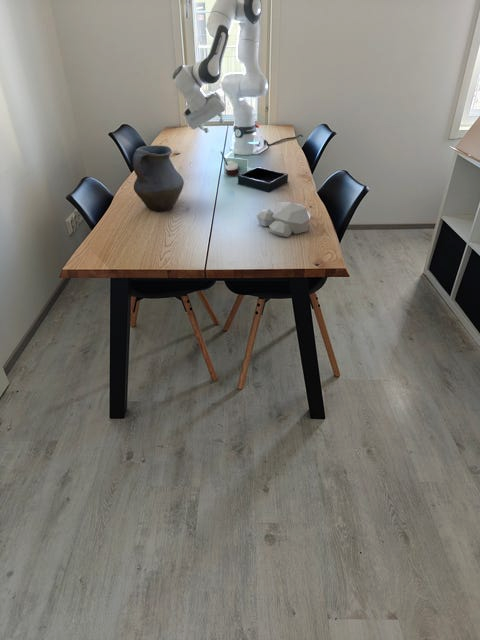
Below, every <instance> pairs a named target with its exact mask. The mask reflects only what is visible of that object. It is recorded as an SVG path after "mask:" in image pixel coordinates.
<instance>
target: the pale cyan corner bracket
mask: <svg viewBox="0 0 480 640" xmlns="http://www.w3.org/2000/svg"><path fill="white" fill-rule="evenodd" d="M224 157H225V160H226V162H228V161H233V162H235V163H236V164H238V167H239V168H238V172H239V173H238V174H237V175H240V174H243V173H245V172H247V171H249V170H252V169H254V168H255V167H251V166H248V165H249V160H248V159H249V158H241V157H235V153H234V151H232V150H231V151H229V152H228V153H227V154H226V155H224ZM225 166H226V163H225V161H224V160H223V173H224V174H227V173H226V167H225Z"/></svg>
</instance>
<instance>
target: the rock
mask: <svg viewBox="0 0 480 640" xmlns="http://www.w3.org/2000/svg"><path fill="white" fill-rule="evenodd" d="M256 217H257V221H258V223H259V226H262V227H269V230H270V233H272V234H274V235H275V236H279V237H284V238H287V237H291V236H292V234H294V235H297V234H301V233H306V232H308V231H309V226H310V220H311V213H310V212H309V211H308V209H307V207H306V206H304V205H303V204H301V203H295V202H289V201H283V200H281V201H280V202H279V203H278V205H277V206H276V207H275V209H274V211H273V210H272V209H270V208H267V209H264V210H262V211H261V212H259V213H258V214H256Z"/></svg>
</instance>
